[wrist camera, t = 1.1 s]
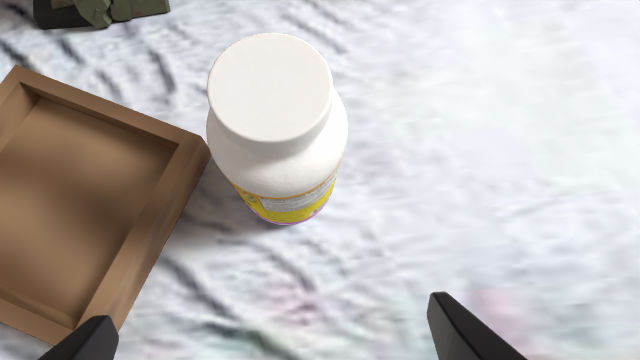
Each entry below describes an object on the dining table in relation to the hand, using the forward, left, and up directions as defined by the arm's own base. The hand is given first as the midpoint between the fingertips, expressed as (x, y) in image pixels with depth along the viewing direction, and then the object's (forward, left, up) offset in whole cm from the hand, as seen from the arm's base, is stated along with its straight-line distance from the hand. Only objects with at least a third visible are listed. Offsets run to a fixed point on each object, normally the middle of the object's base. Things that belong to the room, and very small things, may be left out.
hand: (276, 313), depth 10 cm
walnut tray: (0, +16, -13) cm, 21 cm away
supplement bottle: (+7, +3, -14) cm, 16 cm away
